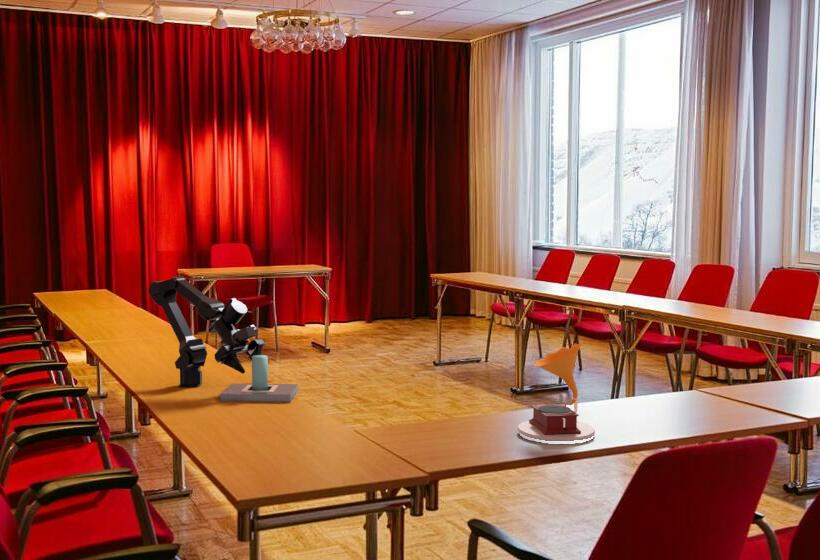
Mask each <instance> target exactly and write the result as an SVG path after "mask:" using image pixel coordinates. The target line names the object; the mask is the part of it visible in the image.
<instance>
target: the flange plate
mask: <svg viewBox="0 0 820 560" xmlns="http://www.w3.org/2000/svg"><path fill="white" fill-rule="evenodd" d="M297 394H299V384H298V383H268V391H258V390H252V383H237V382H236V383H231V384H230V385H228V386H227V387H226V388H225V389H224V390H223V391H222V392H220V393H219V402H220V403H223V402H227V403H231V402H232V403H291V402H292V400H293V399H294V398H295V397H296V395H297Z"/></svg>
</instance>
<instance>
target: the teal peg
mask: <svg viewBox="0 0 820 560" xmlns="http://www.w3.org/2000/svg"><path fill="white" fill-rule="evenodd" d="M268 358H269V356H268V355H265V354H261V355H255V356H252V360H251V384H252V390H258V391H268V384H269V369H268V368H269V361H268V360H269V359H268Z"/></svg>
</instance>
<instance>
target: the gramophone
mask: <svg viewBox="0 0 820 560" xmlns="http://www.w3.org/2000/svg"><path fill="white" fill-rule="evenodd" d="M582 346H583V342H581V343H577V342H575V343H574V344H573V345H572V346H571V347H570V348H568V347H564V346H561V347H560V348H559V349H558V350H557V351H556V352H552V353H551V352H550V353H546V355H545V356H544V357H543V359H538V360H537V359H536V360H535V363H534V364H532V366H534V367H539V368H540V369H542V370H544V371H546V372H548V373H550V374H553V375H555V376H557V377H558V378H561V379H562V380H563V382H564V383H565V384H567V386H568V387H569V388H568V389H570V390H571V393H572V397H571V402H570V403H567V401H564V404H563V403H561V404H533V405H531V407H532V409H533V412H532V418H531V419H529V420H526V421H522V422H521V423H519V424H518V426H517V432H518V431H519V433H521V434H523V435H525V436H527V437H530V438H534V439H539V440H545V441H574V440H583V439H588V438H591V437H592V436H594V434H596V433H595V432H596V431H595V430H596V429H595V428H594V426H592V425H590V424H588V423H585V422H582V421H578V420H577V419H578V417H579V416H580V414H578V413H577V412H578V401H579V399H578V394H579V392H578V388H577V383H576V381H575V379H574V375H573V373H574V367H575V364H576V361H577V357H578V354H579V353H578V352H579V351H580V349H581V347H582ZM567 405H568V406H572V405H573V408H574V410H572V409H571V408H570V407H568V406H567Z"/></svg>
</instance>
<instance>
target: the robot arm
mask: <svg viewBox="0 0 820 560" xmlns="http://www.w3.org/2000/svg"><path fill="white" fill-rule="evenodd" d="M177 293H178V294H180V296H182V297H183V298H185V300H187V301H188V302H190V303H191V304H192V305H193V306H195V308H196V310H197V313H198V315H200V317H201V318H202V319H203V320H204V321H213V320H214V321H213V322H211V323H209V328H208V332H216V334H217V335H218V336H219V338H220V342H219V343H220V345H221V346H220V347H219V349H217V351H216V352H215V353H214V359H215V361H216V363H217V364H221V365H225V366H227V367H229V368H231V369H233V370H235V371H237V372H238V373H240V374H242V375H243V374H245V373H246V370H245V368H244V366H243V365H242V363H241V361H240V360H239V358H238V354H241V353H245V354H246V356H248V359H250V360H251V361H252V356H255V355H262V350H263V348H264V347H265V345H266V343H265V341H264V340H263V339H262V338H256V339H251V338H255V337H256V336H257V334H258V333H259V332H258V331H259V330H258V328H257V326H255V324H251V325H248V326H247V327H243V328H241V329H238V328H237V329H236V327H235V326H234V325H238V323H239V322H240V321H241V320H242V318H243V317H244V316H245V315H246V314H247V312H248V307H247V305H246V304H244V303H243V302H242V301H240V300H237V298H236V297H232V298H230V299H229V300H228V302H227V303H226V305H225V304H224V303H223V302H222V301H219V300H217V299H216V298H213V297H209V296H207V295H205V294H204V293H203V292H201V291H200V290H199V289H198V288H196V287H195V286H194V285H192V284H191V283H190V281H189V282H188V281H187V279H186V278H185V277H183V276H174V277H171V278H168V279H166V280H160V281H159V280H158V281H157V280H156V281H152V282H151V283H150V285H149V286H148V294H149V295H150V298H151V299H152V300H153V302H154V303H155V304H157V305H158V306H160V307H161V308H162V310H163V312H164V314H165V316H166V318H167V321H168V322H169V323H170V326H171V328H172V331H173V333H174V334H175V336H176V339H177V340H178V343H179V347H178V352H179V357H177V359H176V360H175V361H174V364H175V369H177V370H179V385H178V388H179V387H180V388H194V387H195V388H198V387H200V386H201V385H202V384H203V371H202V370H201V367H204V366H205V364H206V359H207V356H208V351H207V346H205V344H204V343H205V342H204V341H203V339H202V338H199V337H198V338H196V337H195V336H194V335H193V333H192V330H191V329H190V327H189V326H188V323H187V320H186V319H185V317H184V315H183V314H182V311H181V309H180V307H179V305H178V303H177ZM250 339H251V341H250ZM247 343H248V344H247Z"/></svg>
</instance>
